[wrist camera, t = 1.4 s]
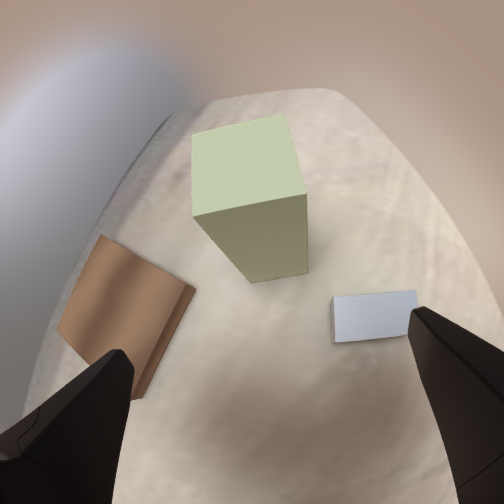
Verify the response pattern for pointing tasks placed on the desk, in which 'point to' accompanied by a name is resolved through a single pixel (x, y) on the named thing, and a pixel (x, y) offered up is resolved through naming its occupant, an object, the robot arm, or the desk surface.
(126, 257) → the walnut board
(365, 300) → the gray metal brick
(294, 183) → the green block
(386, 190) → the desk surface
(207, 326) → the desk surface
